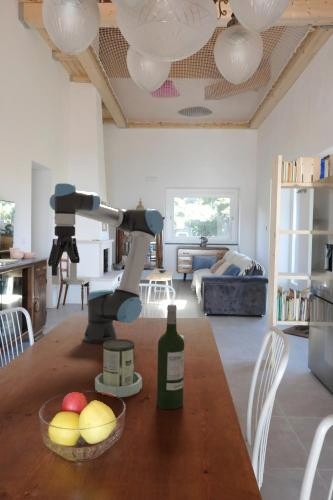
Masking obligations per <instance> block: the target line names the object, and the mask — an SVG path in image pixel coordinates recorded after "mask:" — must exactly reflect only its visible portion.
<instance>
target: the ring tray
mask: <svg viewBox="0 0 333 500" xmlns="http://www.w3.org/2000/svg"><path fill="white" fill-rule="evenodd" d="M94 388H95V391H96V390H97V391H104V392H108V393H112V394H114V395H117V396H119V397H118V398H124V397H125V398H126V397H131V396H133V395H136V394H138V393H140V391H141V390H142V389H143V378H142V375H141V374H140V373H138V372H136V371H134V383H133V384H131V385H128V386H120V387H114V386H106V385H104V384H103V372H101V373H99V374H98V375H96V377H94ZM140 389H141V390H140Z"/></svg>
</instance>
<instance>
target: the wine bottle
mask: <svg viewBox="0 0 333 500" xmlns="http://www.w3.org/2000/svg"><path fill="white" fill-rule="evenodd" d="M166 307H167V308H166V310H167V313H166V316H167V317H166V331H165V333H163V334H162V335H161V336H160V337H159V339H158V341H157V342H158V343H157V372H156V373H157V376H156V379H157V383H156V384H157V385H156V387H157V388H156V403H157V405H158V407H160V408H161V409H165V410H177V409H180V408H181V407H182V406H183V403H184V382H185V381H184V380H185V379H184V377H185V376H184V375H185V374H184V373H185V372H184V371H185V370H184V369H185V368H184V367H185V340H184V337H183V338H182V337H181V336H180V335H179V333H178V330H177V305H176V304H173V303H172V304H171V303H170V304H168V305H167V306H166Z"/></svg>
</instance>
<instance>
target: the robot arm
mask: <svg viewBox="0 0 333 500" xmlns="http://www.w3.org/2000/svg"><path fill="white" fill-rule="evenodd" d="M49 206H50V208H51V209H52V210H53V211H54V217H53V218H54V224H55V226H54V236H55V237H57V238H53V239H52V244H51V245H52V246H51V249H50V254H49V257H48V261H47V265H48V266H49V267H51V285H52V286H54V285H57V286H59V285H60V281H61V280H60V276H61V275H60V274H61V273H60V270H61V269H60V268H61V267H60V266H59V264H60V262H61V260H62V257H63V255H64V253H65V252H66V254H67V256H68V259H69V261H70V263H69V280H72V281H77V276H78V275H77V274H78V271H77V269H78V264H79V263H80V261H81V259H80V255H79V254H80V253H79V250H78V249H79V248H78V246H77V238H75V237H76V226H75V225H76V216H78V217H79V216H80V217H83V218H87V219H88V220H89V219H90V220H93V221H97V222H101V223H103V224H107V225H109V226H110V227H111V228H113V229H116V230H120V231H123V232H127V233H129V234H131V236H132V240H131V243H130V247H129V251H128V253H127V257H126V261H125V264H124V269H123V272H122V275H121V278H120V283H119V286H117V287H115V288H114V289H101V290H99V289H98V290H92V291H90V292H89V293H88V299H87V326H86V328H85V331H84V334H83V340H84V342H86V343H89V344H99V345H100V344H104V343H105V342H106V341H110V340H116V339H117V337H118V333H117V331H116V328H115V324H114V322H115V321H116V322H119V323H123V324H124V323H126V324H131V323H133V322H135V321H137V320H138V318H139V317H140V315H141V313H142V309H143V305H142V304H143V303H142V301H141V299H140V296H141V295H140V293H139V291H138V290H139V287H140V283H141V280H142V276H143V271H144V268H145V264H146V260H147V257H148V254H149V249H150V246H151V243H152V242H154V241H155V240H156V236H157V235H159V234H161V233H162V232H163V230H164V227H165V225H164V218H163V215H162V213H161V212H160V211H159V210H157V209H153V208H142V209H141V208H138V209H137V208H135V209H134V208H132V209H130V208H129V209H126V208H124V209H122V208H119V207H115V208H112V207H108V206H106V205H103V204H101V198H100V196H99V194H98V193H96V192H92V191H84V190H83V191H81V190H77V188H76V185H75V184H73V183H66V182H63V183H62V182H61V183H56V184H55V186H54V193H53V194H52V195H50V198H49Z"/></svg>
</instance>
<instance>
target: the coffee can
mask: <svg viewBox="0 0 333 500" xmlns="http://www.w3.org/2000/svg"><path fill="white" fill-rule="evenodd" d="M102 344H103V365H102V366H103V370H102V371H103V372H102V373H103V384H104V385H106V386H114V387H120V386H128V385H131V384H133V383H134V372H135V345H136V343H135V342H134V341H132V340H130V339H129V340H128V339H123V338H122V339H121V338H120V339H119V338H118V339H116V340H110V341H106V342H105V343H102Z"/></svg>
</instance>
